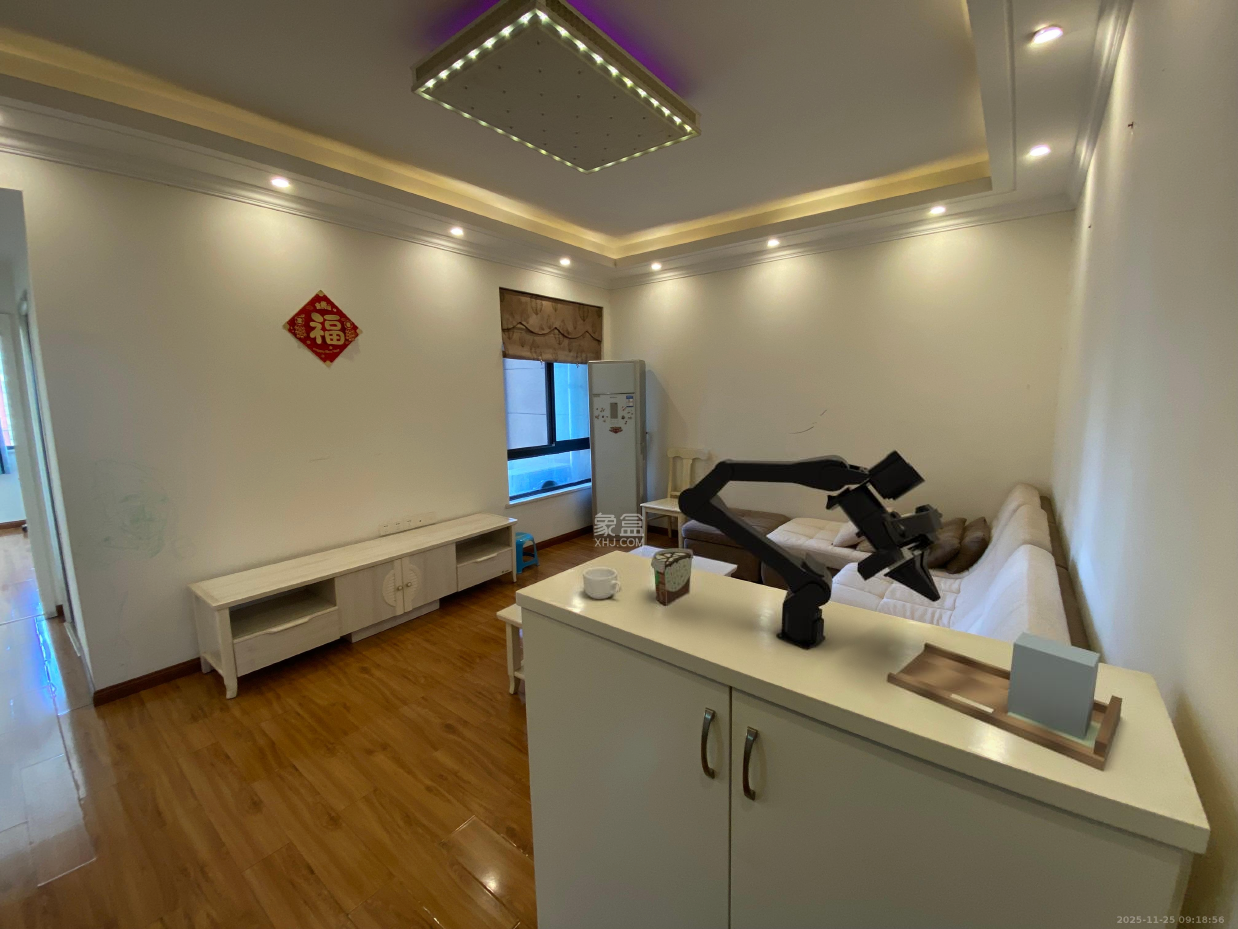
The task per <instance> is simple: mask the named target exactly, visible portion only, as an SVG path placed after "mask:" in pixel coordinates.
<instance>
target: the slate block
mask: <svg viewBox="0 0 1238 929" xmlns="http://www.w3.org/2000/svg"><path fill="white" fill-rule="evenodd" d="M1100 656H1101V653H1098V652H1095V651H1091V650H1088V649H1084V648H1080V647H1077V646H1075V645H1070V644H1066V643H1063V642H1060V641H1057V640H1056V641H1055V640H1053V639H1049V638H1046V637H1042V636H1038V635H1035V634H1032V633H1028V632H1025V631H1022V632H1021V634H1020V635H1019V636H1018V637H1017V638H1016V640H1014V641H1013V648H1012V656H1011V664H1010V671H1011V673H1010V682H1009V690H1008V700H1007V709H1006V711H1009V712H1012V713H1014V714H1017V715H1019V716H1022V717H1024V718H1027V719H1030V720H1032V721H1035V722H1037V723H1040V724H1042V725H1045V726H1048V727H1050V728H1053V729H1055V730H1058V731H1060V732H1063V733H1066V734H1068V735H1071V736H1073V737H1076V738H1078V739H1081V740H1084V739H1085V737H1086V734H1087V732H1088V729H1089V727H1090V724H1091V717H1092V710H1093V702H1094V699H1095V693H1096V688H1097V687H1096V686H1097V679H1098V673H1099V663H1100Z"/></svg>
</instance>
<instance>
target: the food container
mask: <svg viewBox="0 0 1238 929" xmlns="http://www.w3.org/2000/svg"><path fill="white" fill-rule="evenodd" d="M693 559H694V552H693V549H689V548H665V549H660V550H659V551H655V552H654V554H653V556H652V558H651V562H650V566H651V568H652V569H653V572H654V573H653V574H654V585H655V587H654V588H655V599H656V602H657V601H658V602H659V603H658V602H657V603H658V604H660V605H661V606H665V607H666V606H667V607H668V606H670V605H672V604H674V603H675V602H676V600H677V601H678V600H679V601H680V600H681V599H682V598H684V597H685V595H686V596H687V595H689V594H690V591H691V590H690V588H691V575H692V564H693V561H692V560H693ZM683 596H684V597H683ZM669 604H670V605H669Z"/></svg>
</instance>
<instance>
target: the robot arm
mask: <svg viewBox="0 0 1238 929" xmlns="http://www.w3.org/2000/svg"><path fill="white" fill-rule="evenodd" d="M729 482H747V483H748V482H751V483H753V482H754V483H781V484H784V483H785V484H786V483H787V484H796V485H799V486H803V487H807V488H810V489H814V490H819V491H824V492H838V491H840V492H838V493H837V494H836V495H832V494H827V495H826V497H827V498H826V499H827V501H826V504H825V509H826V510H827V511H835V510H836V509H838V508H840V509H841V510H842V512H843V513H844V515H845V516H846V517H847V518H848V519H849V521H850V522H851V523H852V525H854V527H855V529H856V530H857V531H856V532H855V533H854V535H855V536H856V537H857V538H858V539H862V538H864V541H866V542H867V544H868V546H870V547H871V548H872V549H871V550H873V551H874V552H872V553H871V554H869V555H868V556H866V557H864V558H863V559H862V560H860V561H859V562H857V567H856V568H857V570H856V571H857V573H858V574H859V575H860V577H861V578H862V579H863V581H864V582H866V581H868V580H870V579H872V578H874V577H876V575H877V574H880V573H881V572H882V571H884V570H886V569H888V571H886V572H885V573H884V574H882V575H883V577H884V578H886V577H887V578H889V579H891V580H893V581H895V582H897V583H899V584H901V585H902V586H904V587H905V588H908V589H910V590H912V591H913V592H915V593H917V594H919V595H920V596H922V597H924V598H926V599H927V600H928V601H931V602H934V603H935V602H937V601H939V600H941V598H942V596H941V594H940V592H939V590H938V587H937V585H936V583H935V581H934V579H933V576H932V573H931V571H930V569H929V565H928V563H927V562H928V558H929V553H930V552H931V549H930V548H929V547H931V546H933V545H934V544H936V543H937V542H940V541H941V538H940V536H938V534H936V533H937V532H938V530H940V529H941V530H944V529H945V527H944V525H943V522H942V520H941V519H943V513H941V512H939V510H938V508H934V507H933V506H932V505H930V503H927V504H922V505H920V506H917V507H915V512H914V513H912V514H909V515H903V516H902V515H901V514H899V512H898V511H895V510H892V511H889V510H888V509H887V507H886V506H885V505H884V504H883V503H882V502H881V500H880V499H879V498H878V497H877V496H876V494H875V493H874V492H873V491H872V490H871V488H869V487H870V486H871V487H872V488H873V489H874V491H875V492H876V493H877V494H878V495H879V496H880V498H882V499H883V501H886V500H888V501H890V500H893V502H896V501H897V500H899V499H900V498H902V497H904V496H905V495H907V494H908V493H910V492H911V491H913V490H914V489H916V488H917V487H919V486H920V485H922V484H923V483H925V482H926V480H925V479H924V478H923V476H922V475H921V474H920V472H918V471H917V469H915V467H913V465H912V464H911V463H910V462H907V461H906V459H904V457H903V456H902V455H901V454H900V453H899V452H898V450H896V449H893V450H891V451H890V452H889V453H887V454H886V456H884V458H882V459H881V460H880V461H878V462H877V463H875V464H874V465H872V466H870V467H869V468H868V467H865V466H862V465H861V466H860V465H856V464H853V463H849V462H848V461H847V460H846V459H845V458H843V457H842V456H841V455H837V454H829V455H822V456H815V457H809V458H805V459H799V460H753V459H752V460H751V459H750V460H744V459H742V460H740V459H739V460H738V459H737V460H735V459H731V458H726V459H723V460H721V461H719V462H717V463H716V464H715V465H714V468H712V469H711V470H710V471H709V472H708V473H707V474H706V475H705V476H704V477H703V478H702V479H701V480H700V481H699V482H697V483H695V484H693V485H691V486H689V487H687V488H685V489H683V490H682V491H681V492H680V494H679V495H678V498H677V505H678V510H679V512H680V513H681V514H682V515H684V516H685V517H687V518H689V519H691V520H693V521H694V522H695V521H696V522H697V523H699V524H703V525H705V526H708V527H711V528H714V529H716V530H718V531H719V532H720V533H721V534H723V535H724V536H726V537H727V538H729V539H730V540H731V541H732V542H735V544H737V545H738V546H739V547H741V548H742V549H744V550H745V551H746V552H748V553H749V554H750V555H751V556H753V557H755V559H757V560H758V561H760V562H761V563H763V564H764V565H766V566H767V567H768V568H769V569H771V570H772V571H774V572H775V573H777V575H778V576H779V577H780V578H781V579H782V581H783V583H784V584H785V585H786V587H788V589H786V590H787V591H786V593H785V596H784V599H783V602H782V608H781V612H782V613H781V630H780V631H779V632H777V633H776V637H777V638H778V639H781V640H783V641H786V642H788V643H791V644H793V645H794V646H798V647H800V648H803V649H805V650H810V649H811V648H813V647H815V646H816V645H818V644H820V643H821V642H823V641H824V640H826V635H824V633H825V632H824V631H825V619H824V618H823V608H820V607H822V606H825V605H826V604H828V603H829V601H830V599H831V598H832V592H833V585H834V583H833V577H832V574H831V572H830V571H829V570H828V569H827V564H826V563H823V562H820V561H819V560H817V559H816V558H815V557H814V556H813V555H812V554H811V553H809V552H808V551H807V552H805V554H804V556H803V557H801V556H798V555H795V554H793V553H790V551H788V550H786V548H784V547H783V546H781V545H780V544H778V543H777V542H775V541H774V540H772V538H770V537H768V536H767V535H765V534H764V533H763V532H762V531H760V530H758V529H757V528H756V527H754V526H753V525H752V524H750V523H749V522H747V521H746V520H744V519H743V518H742V517H740V516H739V515H738V514H736V513H734V511H731V509H730V508H729V507H728V505H727V504H726V503H725V501H724V500H723V499H722V498H721V496H720V495H719V494H718V493H720V492H721V491H722V490H723V488H725V487H726V486H727V485H728V483H729ZM855 485H856V487H854V488H852V487H851V486H855ZM845 486H847V487H846V488H845ZM843 488H844V489H843ZM842 489H843V490H842Z"/></svg>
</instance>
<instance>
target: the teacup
mask: <svg viewBox="0 0 1238 929" xmlns="http://www.w3.org/2000/svg"><path fill="white" fill-rule="evenodd" d="M582 578H583V586H584V591H585V593H586V594H587V595H588V596H589V597H591V598H592V599H596V600H605V599H608V598H610V597H611V596H612V595H614V594H618V593H620V592H622V584H621V583H620V582H619V580H618V572H617V570H616V569H614V568H611V567H606V566H594V567H589V568H586V569H584V570H583V572H582ZM617 585H618V590H617V589H616V588H617Z"/></svg>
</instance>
